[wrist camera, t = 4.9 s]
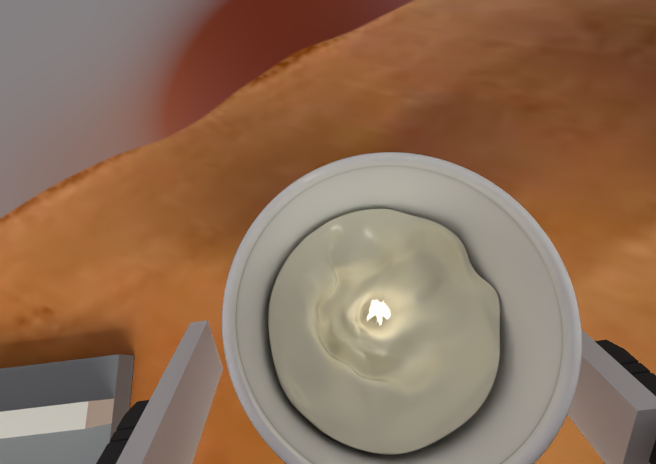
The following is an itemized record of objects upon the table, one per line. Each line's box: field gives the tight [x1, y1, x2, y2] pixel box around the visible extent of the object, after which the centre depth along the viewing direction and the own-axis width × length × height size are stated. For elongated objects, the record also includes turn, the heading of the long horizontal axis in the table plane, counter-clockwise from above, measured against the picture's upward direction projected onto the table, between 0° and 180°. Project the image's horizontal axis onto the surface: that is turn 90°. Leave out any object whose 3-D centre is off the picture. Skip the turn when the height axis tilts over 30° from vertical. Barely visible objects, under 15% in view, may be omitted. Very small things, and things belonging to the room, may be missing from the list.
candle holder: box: [222, 152, 582, 464], centre depth 15 cm, size 10×10×12 cm
